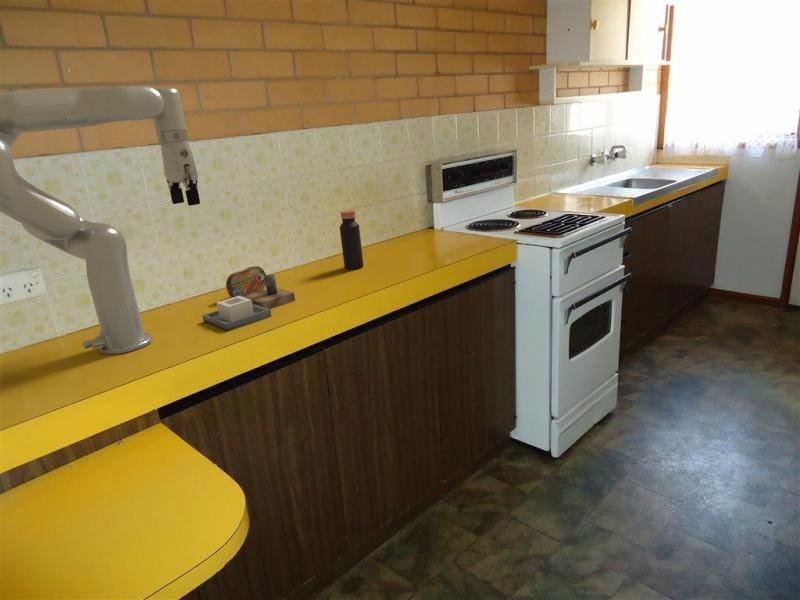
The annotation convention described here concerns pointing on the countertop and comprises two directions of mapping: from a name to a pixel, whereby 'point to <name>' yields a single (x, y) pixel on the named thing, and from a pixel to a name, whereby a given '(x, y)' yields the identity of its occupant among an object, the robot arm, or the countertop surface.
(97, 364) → the countertop surface
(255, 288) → the tin
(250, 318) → the tray
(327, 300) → the countertop surface
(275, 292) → the wooden stand
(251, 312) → the off-white open box
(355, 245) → the bottle
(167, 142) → the robot arm
